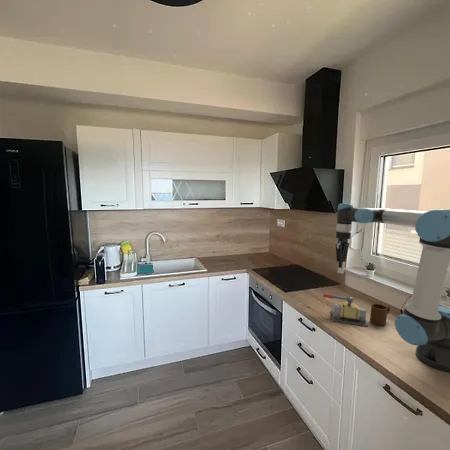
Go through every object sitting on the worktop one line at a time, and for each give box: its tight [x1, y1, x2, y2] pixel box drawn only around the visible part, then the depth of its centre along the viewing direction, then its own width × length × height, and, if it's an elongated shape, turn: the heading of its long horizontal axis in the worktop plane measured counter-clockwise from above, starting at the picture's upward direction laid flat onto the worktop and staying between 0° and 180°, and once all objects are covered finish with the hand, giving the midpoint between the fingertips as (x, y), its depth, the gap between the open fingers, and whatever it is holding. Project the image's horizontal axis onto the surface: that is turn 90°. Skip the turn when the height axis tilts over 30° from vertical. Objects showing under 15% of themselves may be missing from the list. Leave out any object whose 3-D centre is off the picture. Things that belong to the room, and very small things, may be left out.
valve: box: [330, 301, 369, 328], centre depth 143 cm, size 12×17×10 cm
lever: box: [322, 292, 355, 303], centre depth 144 cm, size 16×4×2 cm, turn 69°
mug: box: [369, 303, 391, 327], centre depth 140 cm, size 12×8×9 cm, turn 111°
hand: (340, 272), depth 144 cm, fingers closed
